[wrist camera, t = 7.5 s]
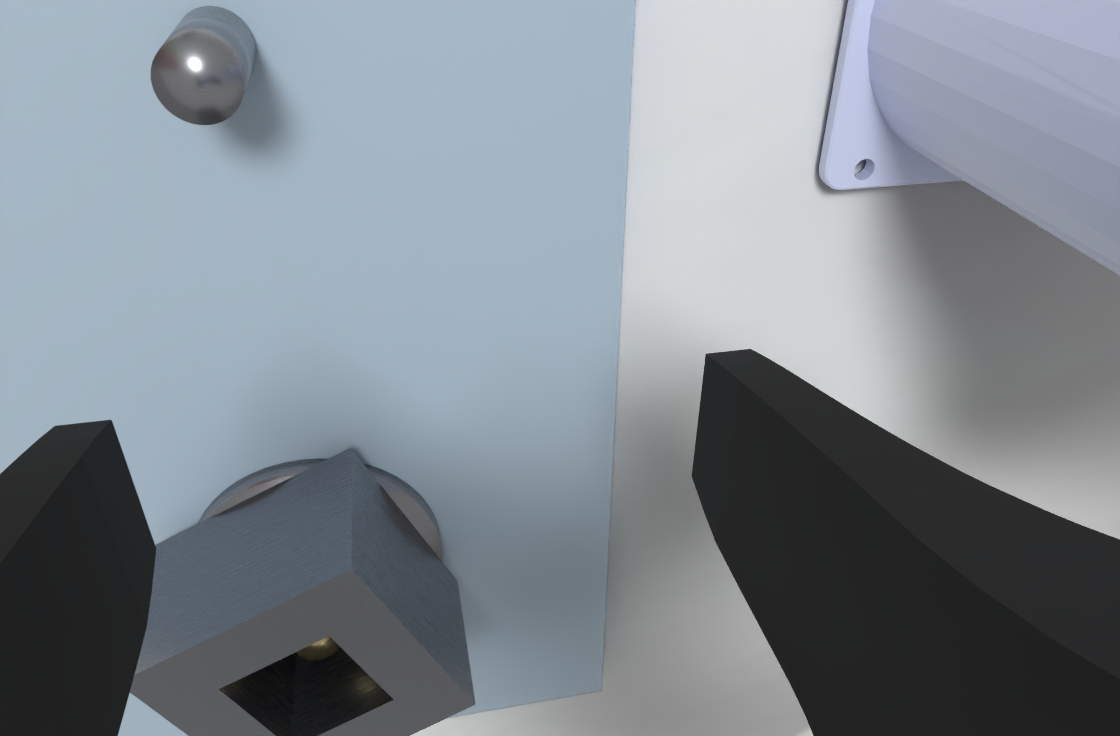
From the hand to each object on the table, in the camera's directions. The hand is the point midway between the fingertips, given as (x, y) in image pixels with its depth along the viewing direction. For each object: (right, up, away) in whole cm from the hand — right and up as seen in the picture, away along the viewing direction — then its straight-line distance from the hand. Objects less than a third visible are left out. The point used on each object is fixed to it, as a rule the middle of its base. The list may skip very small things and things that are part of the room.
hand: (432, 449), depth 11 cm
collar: (-5, -4, +12) cm, 13 cm away
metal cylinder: (-5, +7, +5) cm, 10 cm away
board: (-5, +1, +10) cm, 11 cm away
